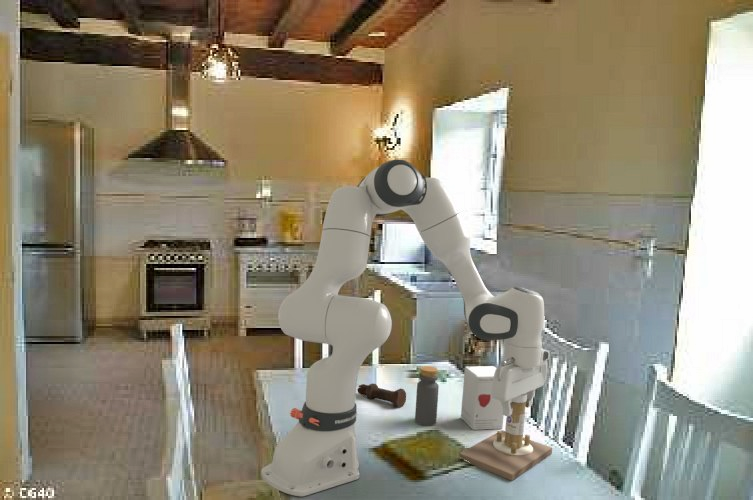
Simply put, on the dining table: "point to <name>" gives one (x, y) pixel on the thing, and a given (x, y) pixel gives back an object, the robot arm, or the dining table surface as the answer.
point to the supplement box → (480, 399)
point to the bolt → (383, 394)
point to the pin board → (506, 455)
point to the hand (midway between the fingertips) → (517, 410)
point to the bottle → (427, 396)
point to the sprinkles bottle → (516, 421)
